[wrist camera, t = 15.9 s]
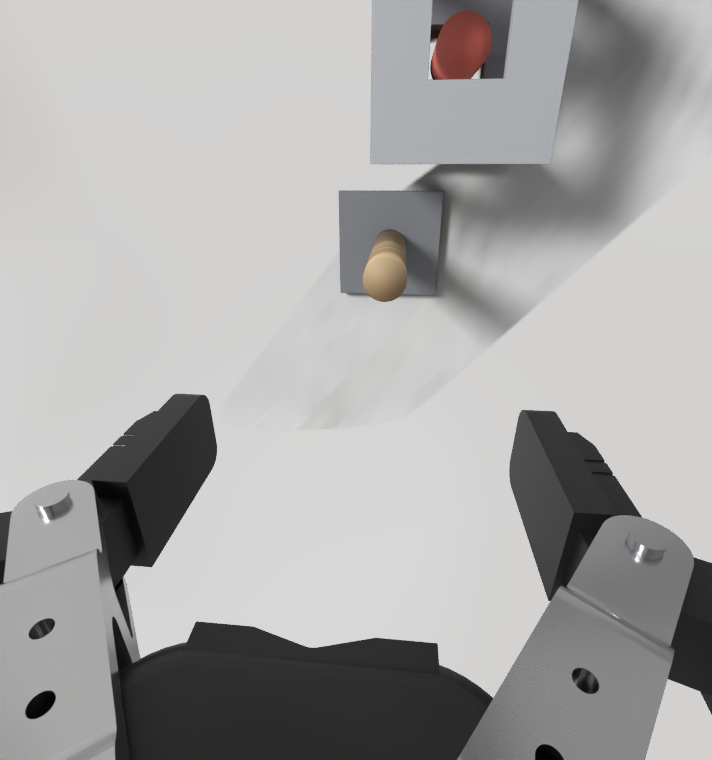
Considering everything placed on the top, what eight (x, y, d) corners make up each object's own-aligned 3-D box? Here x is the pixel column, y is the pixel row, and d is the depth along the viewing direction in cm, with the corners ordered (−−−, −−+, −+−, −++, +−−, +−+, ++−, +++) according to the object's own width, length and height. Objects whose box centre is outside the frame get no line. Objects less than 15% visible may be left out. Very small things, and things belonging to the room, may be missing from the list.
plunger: (432, 39, 30) (439, 11, 24) (477, 38, 30) (494, 9, 24) (429, 91, 31) (434, 76, 26) (472, 90, 31) (487, 75, 25)
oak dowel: (374, 229, 35) (362, 257, 25) (406, 229, 35) (408, 257, 24) (374, 261, 36) (362, 301, 26) (404, 261, 36) (405, 302, 25)
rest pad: (340, 190, 35) (338, 191, 34) (442, 190, 34) (443, 191, 34) (341, 290, 39) (340, 292, 38) (434, 292, 38) (435, 294, 37)
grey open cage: (382, -46, 28) (373, -131, 20) (542, -53, 28) (603, -145, 19) (378, 162, 34) (370, 164, 25) (512, 162, 33) (549, 163, 25)
